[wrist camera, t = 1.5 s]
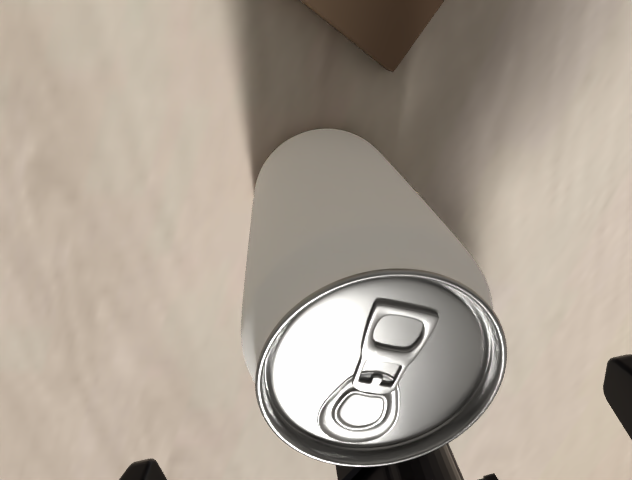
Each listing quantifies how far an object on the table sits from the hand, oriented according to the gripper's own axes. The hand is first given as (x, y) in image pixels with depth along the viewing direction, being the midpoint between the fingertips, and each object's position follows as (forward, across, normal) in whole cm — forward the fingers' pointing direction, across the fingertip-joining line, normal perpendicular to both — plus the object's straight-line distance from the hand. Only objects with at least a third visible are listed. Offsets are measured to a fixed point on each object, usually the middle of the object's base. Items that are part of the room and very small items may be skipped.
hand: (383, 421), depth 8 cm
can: (+13, 0, 0) cm, 13 cm away
